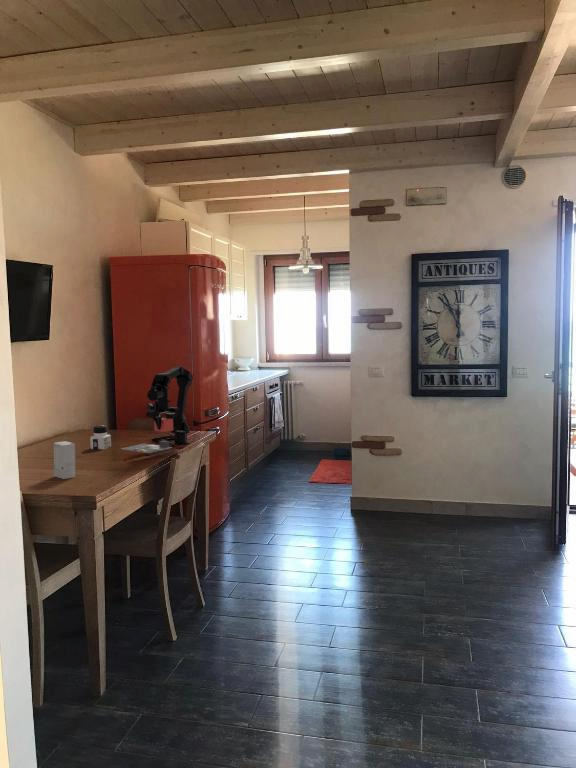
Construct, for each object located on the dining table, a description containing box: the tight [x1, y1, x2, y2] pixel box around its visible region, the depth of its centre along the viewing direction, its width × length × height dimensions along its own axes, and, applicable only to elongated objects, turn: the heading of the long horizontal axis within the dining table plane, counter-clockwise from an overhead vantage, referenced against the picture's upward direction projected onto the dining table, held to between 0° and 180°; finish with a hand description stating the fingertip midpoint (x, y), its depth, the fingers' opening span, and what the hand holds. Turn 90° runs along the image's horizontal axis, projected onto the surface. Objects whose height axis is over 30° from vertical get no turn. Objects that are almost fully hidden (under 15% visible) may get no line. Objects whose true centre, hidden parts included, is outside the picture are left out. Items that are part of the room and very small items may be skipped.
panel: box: [120, 443, 174, 457], centre depth 319 cm, size 16×22×2 cm
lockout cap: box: [153, 417, 173, 433], centre depth 318 cm, size 6×7×6 cm
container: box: [89, 424, 112, 450], centre depth 322 cm, size 8×8×13 cm
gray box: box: [158, 440, 170, 448], centre depth 319 cm, size 3×4×3 cm
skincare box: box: [53, 440, 76, 480], centre depth 266 cm, size 8×6×15 cm
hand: (163, 428), depth 318 cm, fingers closed on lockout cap, 6 cm apart
